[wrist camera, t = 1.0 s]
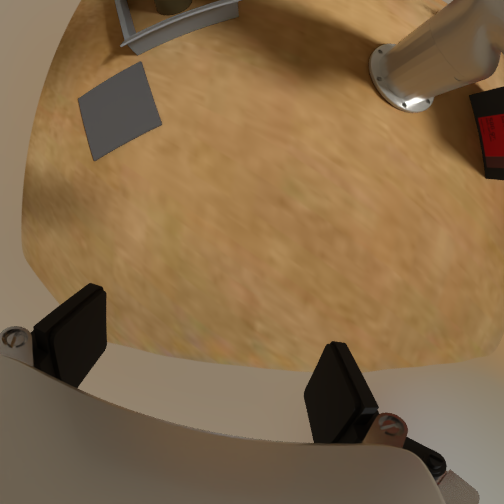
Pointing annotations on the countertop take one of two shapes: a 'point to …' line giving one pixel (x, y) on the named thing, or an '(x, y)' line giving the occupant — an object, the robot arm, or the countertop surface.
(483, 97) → the cleaning product box
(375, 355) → the countertop surface
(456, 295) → the countertop surface
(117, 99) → the rubber mat
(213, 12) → the carton
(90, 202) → the countertop surface
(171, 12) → the cork
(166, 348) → the countertop surface
